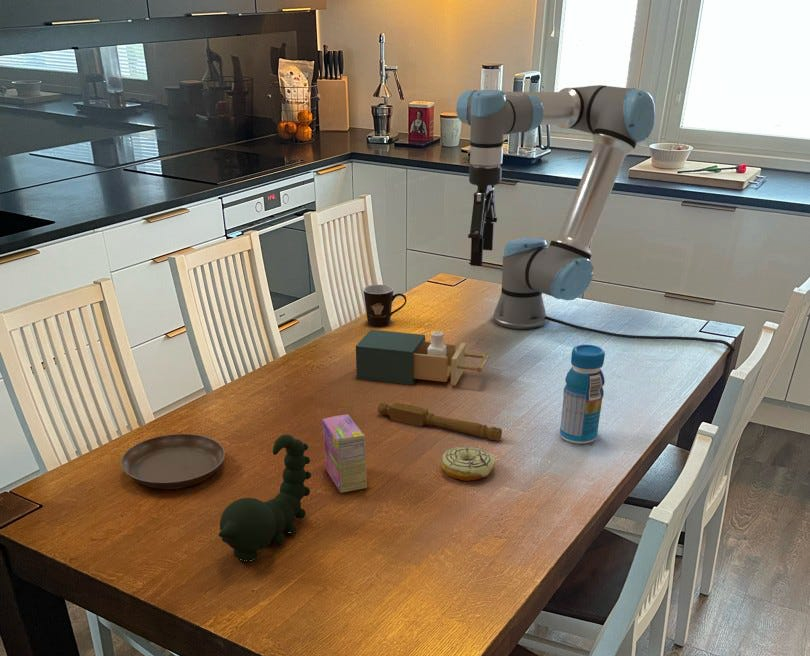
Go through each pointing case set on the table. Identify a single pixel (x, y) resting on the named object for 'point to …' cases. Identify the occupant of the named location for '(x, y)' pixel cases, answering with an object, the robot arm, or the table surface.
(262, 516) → the toy figurine
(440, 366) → the drawer
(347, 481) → the box
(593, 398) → the beverage bottle
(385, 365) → the cabinet
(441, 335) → the pepper shaker
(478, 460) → the decorated donut
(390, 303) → the coffee mug
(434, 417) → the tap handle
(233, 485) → the table surface
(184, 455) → the plant saucer
